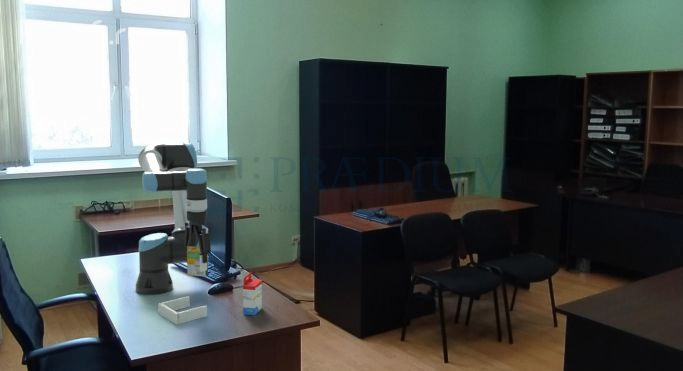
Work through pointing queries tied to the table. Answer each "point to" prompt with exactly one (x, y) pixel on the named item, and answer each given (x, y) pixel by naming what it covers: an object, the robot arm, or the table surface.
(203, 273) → the crayon box
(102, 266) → the table surface
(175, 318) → the tray
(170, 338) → the table surface
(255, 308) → the ink box
